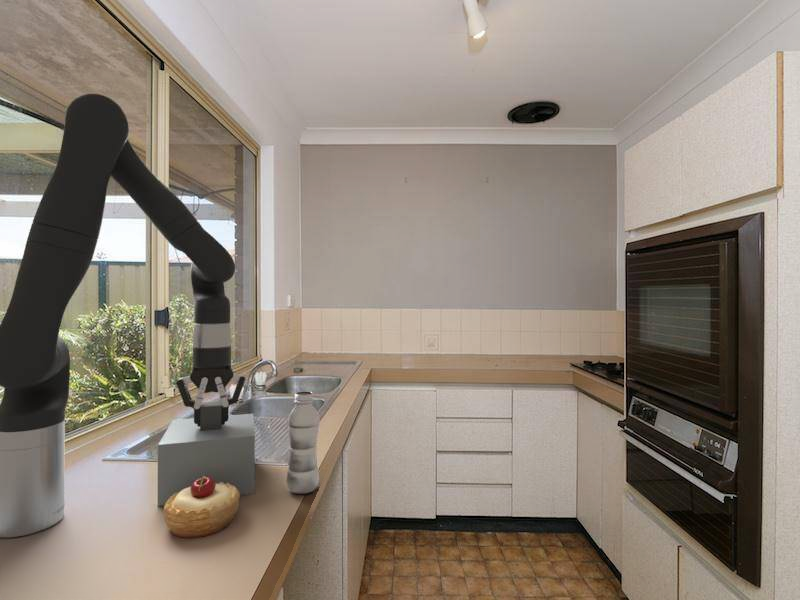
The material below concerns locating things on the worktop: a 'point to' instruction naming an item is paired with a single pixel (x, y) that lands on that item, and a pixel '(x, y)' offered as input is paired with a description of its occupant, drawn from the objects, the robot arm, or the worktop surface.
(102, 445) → the worktop surface
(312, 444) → the plastic bottle
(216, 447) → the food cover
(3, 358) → the robot arm
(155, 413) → the worktop surface
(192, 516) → the pastry
